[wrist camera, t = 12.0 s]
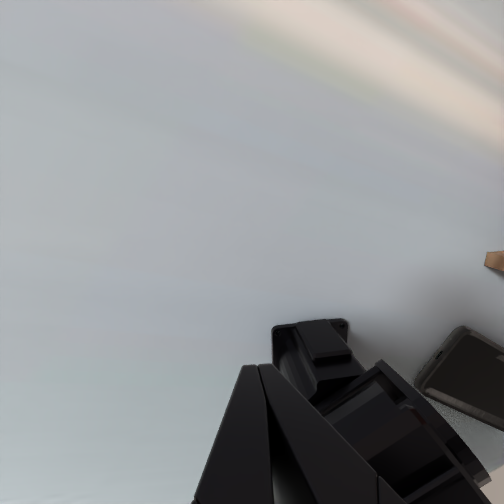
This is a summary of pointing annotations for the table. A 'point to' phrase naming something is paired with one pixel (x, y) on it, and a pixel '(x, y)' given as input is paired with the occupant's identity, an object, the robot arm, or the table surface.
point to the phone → (467, 376)
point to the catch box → (495, 260)
